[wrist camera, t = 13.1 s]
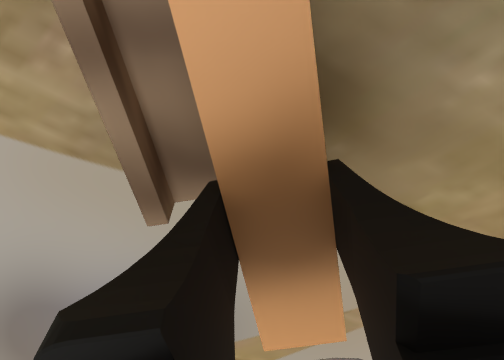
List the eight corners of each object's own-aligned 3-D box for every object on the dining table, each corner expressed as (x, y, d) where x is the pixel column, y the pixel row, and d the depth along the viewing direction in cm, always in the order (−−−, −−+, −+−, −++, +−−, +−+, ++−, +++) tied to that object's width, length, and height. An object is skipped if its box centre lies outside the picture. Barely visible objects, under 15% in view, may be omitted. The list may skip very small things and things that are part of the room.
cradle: (-23, -279, 12) (-94, -339, 10) (191, -342, 12) (175, -424, 9) (159, 196, 23) (147, 226, 20) (278, 177, 22) (283, 206, 20)
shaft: (153, -148, 10) (112, -202, 7) (273, -179, 9) (282, -249, 6) (262, 290, 17) (264, 351, 14) (330, 280, 17) (346, 340, 14)
